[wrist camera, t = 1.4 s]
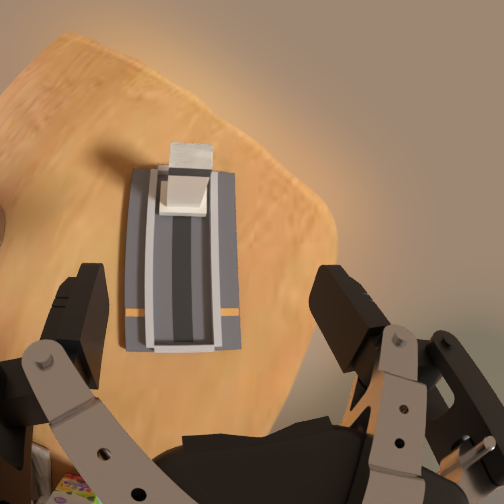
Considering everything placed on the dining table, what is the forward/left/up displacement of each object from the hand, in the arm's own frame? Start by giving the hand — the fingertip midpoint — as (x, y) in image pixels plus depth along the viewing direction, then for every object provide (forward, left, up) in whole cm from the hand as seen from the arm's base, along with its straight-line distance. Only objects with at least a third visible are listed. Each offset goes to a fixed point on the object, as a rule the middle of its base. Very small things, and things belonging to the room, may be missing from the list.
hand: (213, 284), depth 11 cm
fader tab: (-5, +10, -20) cm, 23 cm away
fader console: (-2, +5, -22) cm, 22 cm away
